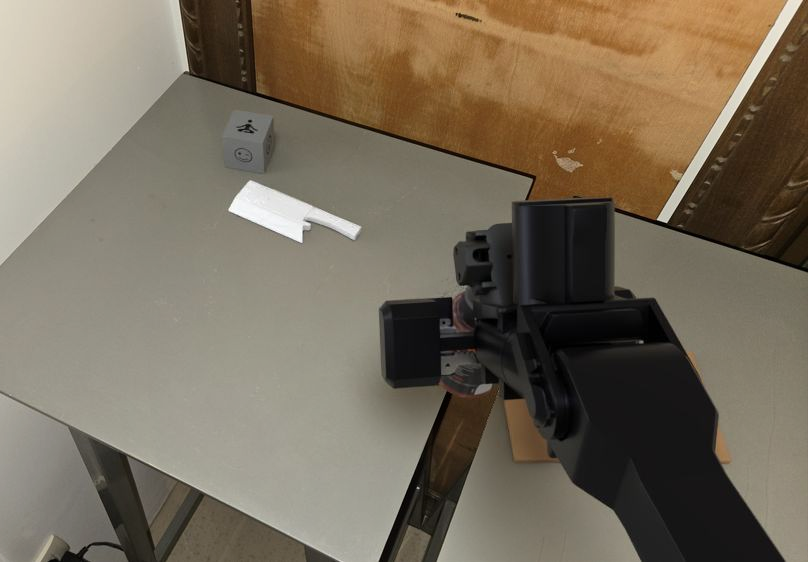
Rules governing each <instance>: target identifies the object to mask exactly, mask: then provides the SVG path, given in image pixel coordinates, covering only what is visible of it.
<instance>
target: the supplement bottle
mask: <svg viewBox="0 0 808 562" xmlns="http://www.w3.org/2000/svg"><path fill="white" fill-rule="evenodd" d="M452 299H453V325H454V326H455V327H456V333H458V332H473V331H474V330H475V326H474V319H475V318H474V316H473V299H480V295H478V296H474V295H473V293H472V289H471V287H470V286H466V287H465V289H464V290H463V291H461V292H459V293H458V294H456V296H454V297H452ZM471 350H473V351H474V349H471ZM471 350H468V352H469V354H470V351H471ZM462 351H463V353H465V350H462ZM457 352H458V354H459V353H460V350H457ZM474 353H475V351H474ZM439 386H441V387H442V388H443V389H444V391H446V392H448V393H450V394H452V395H453V396H455V397H459V398H462V399H477V398H481V397H484V396H486V395H488V394H490V392H492V390H494V388H495V387H496V386H497V384H485V383H484V382H482V381H481V363H480V364H465V365H459V366H458V367H457V369H456V371H455V375H451V376H441V380H440V383H439Z"/></svg>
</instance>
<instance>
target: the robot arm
mask: <svg viewBox="0 0 808 562" xmlns="http://www.w3.org/2000/svg"><path fill="white" fill-rule="evenodd" d="M615 203H616V202H615V201H614V198H613V197H609V196H608V197H606V196H605V197H603V196H602V197H564V198H562V197H561V198H542V199H541V198H540V199H526V200H525V199H523V200H514V201H511V222H503V223H502V222H501V223H494V224H492V225H491V226H490V227H489V228H488V229H479V230H478V229H477V230H468V231H466V232H465V240H463V241H462V240H461V241H460V240H459V241H458V242H457V243H456V244H455V245H454V247H453V252H452V255H453V264H454V271H455V280H456V283H457V285H458V286H459V287H465V286H466V287H467V286H470V287H471V289H472V293H473V295H474V296H478V295H480V299H473V316H474V318H475V319H474V326H475V330H474V331H473V332H458V333H456V327H455V326H454V325H453V296H444V297H428V298H426V297H425V298H408V299H393V300H392V299H391V300H385V301H384V302H383V303H382V304H381V305H380V306H379V307H378V321H379V322H378V325H379V327H378V328H379V349H380V372H381V374H380V375H381V377H382V379H383V380H384V382H385V383H387V385H389V386H390V387H391V388H392V389H393V390H394V389H407V388H408V389H409V388H423V387H436V386H438V387H439V386H440V380H441V376H451V375H455V371H456V369H457V367H458V366H459V365H465V364H480V363H481V381H482V382H484V383H485V384H496V385H497V384H498V396H499V397H500V399H502V401H503V400H515V399H525V400H526V404H527V407H528V411H529V414H530V416H531V417H532V418H533V423H534V426H535V427H536V428H537V429H538V431H539V433H540V435H541V436H542V437H543V438H544V439H545V440H547V454H548V456H549V457H550V458H552V459H554V458H558V460H559V461H560V465H561V467H562V468H563V470H564V471H565V473H566V476H568V478H569V480H570V482H571V483H572V484H573V485H574V486H575V487H577V488H578V489H580V490H581V491H583V492H584V493H586V494H588V495H589V496H591V497H592V498H594V499H595V500H597V501H599V502H600V503H601V504H603V505H604V506H606V507H608V508H609V509H611V510H612V511H613V513H614V514H615V515H616V517H617V519H618V520H619V522H620V524H621V525H622V526H623V528H624V530H625V532H626V534H627V536H628V539H629V540H630V542H631V544H632V546H633V548H634V550H635V552H636V554H637V556H638V558H639V560H640V562H787V561H786V559H785V557H784V556H783V555H782V553H781V552H780V550H779V548H778V547H777V545H776V544H775V543H774V541H773V540H772V538H771V537H770V536H769V534H768V532H767V531H766V529H765V528H764V527H763V525H762V524H761V522H760V521H759V519H758V518H757V516H756V515H755V514H754V512H753V510H752V509H751V508H750V506H749V505H748V503H747V501H746V500H745V499H744V497H743V495H742V494H741V493H740V492H739V490H738V488H737V487H736V485H735V483H734V482H733V481H732V479H731V478H730V476H729V474H728V473H727V471H726V470H725V467H724V466H723V464H721V462H720V460H719V458H718V456H717V454H716V452H715V449H716V439H717V429H718V424H719V419H720V413H719V411H718V408H717V407H716V405H715V403H714V401H713V399H712V397H711V396H710V394H709V392H708V390H707V388H706V386H705V384H704V385H703V383H704V382H703V383H702V381H701V378H700V376H699V374H698V372H697V370H696V369H695V367H694V365H693V363H692V362H691V360H690V358H689V356H688V355H687V353H686V351H687V350H686V349H685V348H684V346H683V344H682V343H681V341H680V339H679V337H678V336H677V334H676V332H675V330H674V329H673V327H672V325H671V323H670V321H669V320H668V318H667V316H666V314H665V313H664V311H663V310H662V308H661V305H660V304H659V302H658V301H657V299H656V298H655V297H653V296H652V297H638V298H637V296H636V295H635V294H634V293H633V291H632V290H631V289H630V288H625V287H621V286H617V285H616V286H615V279H616V278H615V270H616V269H615V268H616V267H615V264H616V263H615V262H616V261H615V257H616V256H615V253H616V252H615V246H616V245H615V243H616V242H615V241H616V240H615V239H616V236H615V235H616V234H615V233H616V232H615V231H616V228H615V227H616V225H615V223H616V219H615V218H616V217H615V216H616V215H615V214H616V213H615V212H616V204H615ZM471 349H474V351H475V353H474V351H473V350H471ZM457 350H460V353H459V354H458V352H457ZM462 350H465V353H463V351H462ZM468 350H471V351H470V354H469V352H468ZM704 386H705V387H704ZM705 388H706V389H705Z"/></svg>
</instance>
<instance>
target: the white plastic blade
mask: <svg viewBox="0 0 808 562" xmlns="http://www.w3.org/2000/svg"><path fill="white" fill-rule="evenodd" d="M227 211H228V212H229V213H231V214H233V215H237V216H239V217H241V218H243V219H246V220H248V221H250V222H253V223H255V224H257V225H259V226H262V227H264V228H266V229H268V230H270V231H273V232H275V233H278V234H280V235H282V236H284V237H286V238H288V239H291V240H294V241H295V242H298V243H300V244H303V232H304V231H307V232H308V231H311V230H312V225H311V223H315V224H317V225H321V226H324V227H326V228H330V229H332V230H333V231H336V232H338V233H340V234H341V235H343V236H345V237H347V238H348V239H351V240H353V241H354V242H355V241H356V239H357V238H358V237H359V235H360V234H361V233H362V226H361V225H358V224H355V223H354V222H351V221H348V220H346V219H344V218H341V217H340V216H336V215H334V214H332V213H330V212H327V211H325V210H323V209H321V208H319V207H316V206H314V205H311V204H309V203H307V202H305V201H302V200H301V199H298V198H295V197H293V196H291V195H288V194H286V193H283V192H282V191H278V190H277V189H274V188H270V187H268V186H266V185H263V184H261V183H259V182H256V181H253V180H251V179H249V181H248V182H247V183H246V184H245V185H243V187H242V189H240V191H239V192H238V193H237V194H236V196H235V197H234V199H233V201H232V203H231V205H230V206H229V208H228V210H227ZM308 221H309V222H308Z"/></svg>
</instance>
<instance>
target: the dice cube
mask: <svg viewBox="0 0 808 562" xmlns="http://www.w3.org/2000/svg"><path fill="white" fill-rule="evenodd" d="M274 117H275V116H274V115H272V114H271V115H270V114H264V113H257V112H252V111H245V110H241V109H240V110H238V109H233V110H232V113H231V115H230V117H229V120H228V121H227V124H226V126H225V128H224V131H223V133H222V135H221V140H222V141H221V142H222V151H223V159H224V167H225V168H227V169H232V170H239V171H243V172H245V171H246V172H250V173H256V174H262V175H265V174H266V171H267V168H268V166H269V163H270V160H271V158H272V155H273V152H274V150H275V146H276V145H275V120H274V119H275V118H274Z"/></svg>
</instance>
